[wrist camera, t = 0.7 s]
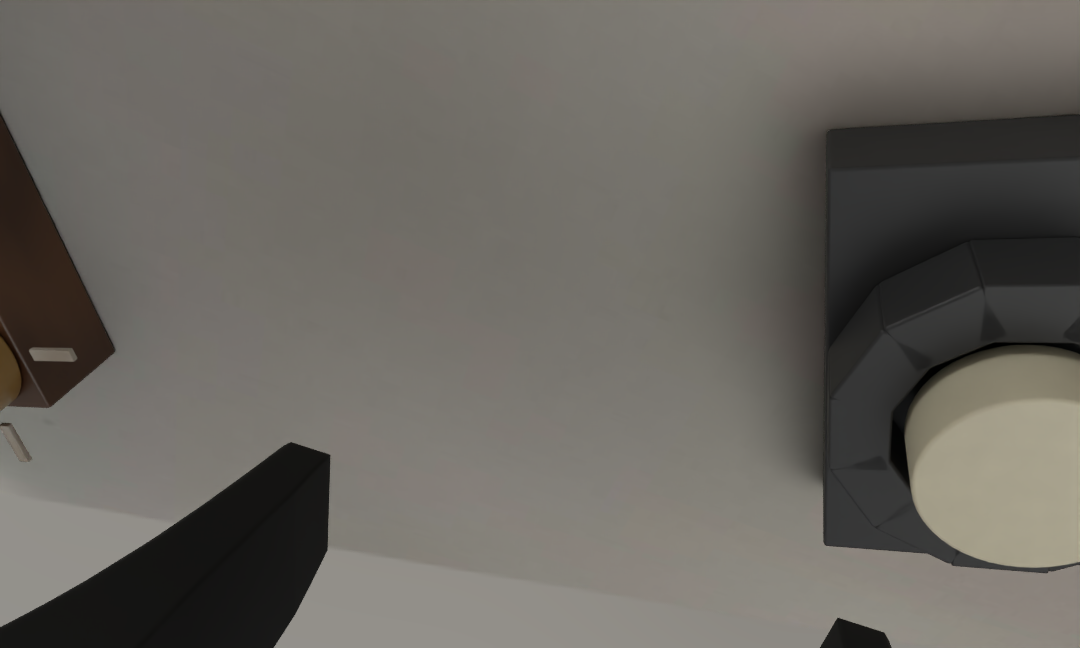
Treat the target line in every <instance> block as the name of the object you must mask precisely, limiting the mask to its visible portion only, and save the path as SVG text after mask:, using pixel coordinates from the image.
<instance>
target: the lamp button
mask: <svg viewBox="0 0 1080 648" xmlns="http://www.w3.org/2000/svg"><path fill="white" fill-rule="evenodd" d="M904 439H905V447H906V455H907V463H908V471H909V479H910V487H911V493H912V498H913V502H914V505H915V507H916V510H917V512H918V513H919V515H920V517H921V518H922V520H923V521H924V522H925V524H926V525H927V526H928V527H929V528H930V530H931V531H932V532H933V533H934V534H936V535H937V536H938V537H939V538H940V539H941V540H943V541H944V542H945V543H947V544H948V545H950V546H951V547H953V548H955V549H957V550H959V551H960V552H962V553H965V554H967V555H969V556H972V557H974V558H977V559H980V560H984V561H987V562H990V563H995V564H1000V565H1005V566H1014V567H1029V568H1039V567H1054V566H1061V565H1068V564H1072V563H1077V562H1080V354H1078V353H1076V352H1073V351H1069V350H1065V349H1062V348H1057V347H1051V346H1045V345H1031V344H1023V345H1008V346H1001V347H995V348H990V349H986V350H982V351H979V352H976V353H973V354H970V355H967V356H965V357H963V358H961V359H959V360H956V361H954V362H952V363H951V364H949V365H948V366H946V367H944V368H943V369H941V370H940V371H939V372H937V373H936V374H935V375H933V376H932V377H931V378H930V379H929V380H928V381H927V382H926V383H925V384H924V385H923V386H922V388H921V389H920V390H919V392H918V393H917V394H916V396H915V397H914V399H913V401H912V403H911V404H910V406H909V409H908V412H907V415H906V419H905V425H904Z"/></svg>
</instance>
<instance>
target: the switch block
mask: <svg viewBox="0 0 1080 648" xmlns="http://www.w3.org/2000/svg"><path fill="white" fill-rule="evenodd" d="M1023 344H1031V345H1045V346H1051V347H1057V348H1062V349H1065V350H1069V351H1073V352H1076V353H1078V354H1080V115H1068V116H1052V117H1035V118H1018V119H1002V120H985V121H968V122H952V123H935V124H919V125H902V126H885V127H869V128H852V129H836V130H829V131H827V134H826V232H825V343H824V454H823V542H824V544H825V545H826V546H836V547H849V548H862V549H875V550H888V551H901V552H914V553H928V554H930V555H932V556H934V557H936V558H938V559H940V560H942V561H944V562H947V563H951V564H952V565H953V566H961V567H974V568H986V569H999V570H1012V571H1024V572H1037V573H1048V571H1056V570H1060V569H1064V568H1067V567H1071V566H1075V565H1080V562H1077V563H1072V564H1068V565H1061V566H1054V567H1039V568H1029V567H1014V566H1005V565H1000V564H995V563H990V562H987V561H984V560H980V559H977V558H974V557H972V556H969V555H967V554H965V553H962V552H960V551H959V550H957V549H955V548H953V547H951V546H950V545H948V544H947V543H945V542H944V541H943V540H941V539H940V538H939V537H938V536H937V535H936V534H934V533H933V532H932V531H931V530H930V528H929V527H928V526H927V525H926V524H925V522H924V521H923V520H922V518H921V517H920V515H919V513H918V512H917V510H916V507H915V505H914V502H913V498H912V493H911V487H910V479H909V471H908V463H907V455H906V447H905V439H904V425H905V419H906V415H907V412H908V409H909V406H910V404H911V403H912V401H913V399H914V397H915V396H916V394H917V393H918V392H919V390H920V389H921V388H922V386H923V385H924V384H925V383H926V382H927V381H928V380H929V379H930V378H931V377H932V376H933V375H935V374H936V373H937V372H939V371H940V370H941V369H943V368H944V367H946V366H948V365H949V364H951V363H952V362H954V361H956V360H959V359H961V358H963V357H965V356H967V355H970V354H973V353H976V352H979V351H982V350H986V349H990V348H995V347H1001V346H1008V345H1023Z"/></svg>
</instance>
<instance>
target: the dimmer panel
mask: <svg viewBox="0 0 1080 648" xmlns="http://www.w3.org/2000/svg"><path fill="white" fill-rule="evenodd" d="M0 336H1V337H2V338H3V339H4V341H5V342H6V343H7V345H8V346H9V348H10V349H11V351H12V353H13V354H14V356H15V358H16V360H17V363H18V366H19V368H20V373H21V380H22V381H21V389H20V392H19V394H18V396H17V398H16V399H15V400H14V401H13V402H12V403H10V404H9V405H8V406H16V407H40V408H49V407H51V406H52V405H54V404H55V403H56V402H57V401H58V400H60V399H61V398H62V397H63V396H64V395H65V394H67V393H68V392H69V391H70V390H71V389H72V388H74V387H75V386H76V385H77V384H78V383H79V382H81V381H82V380H83V379H84V378H85V377H86V376H88V375H89V374H90V373H91V372H92V371H93V370H95V369H96V368H97V367H98V366H99V365H100V364H102V363H103V362H104V361H105V360H106V359H107V358H109V357H110V356H111V355H112V354H113V353H114V352H115V350H114V348H113V346H112V344H111V342H110V340H109V338H108V336H107V334H106V332H105V329H104V327H103V325H102V323H101V321H100V319H99V317H98V315H97V313H96V311H95V309H94V307H93V305H92V303H91V301H90V299H89V296H88V294H87V292H86V290H85V288H84V286H83V284H82V282H81V280H80V278H79V276H78V274H77V272H76V270H75V268H74V266H73V263H72V261H71V259H70V257H69V255H68V253H67V251H66V249H65V247H64V245H63V243H62V241H61V239H60V237H59V235H58V233H57V230H56V228H55V226H54V224H53V222H52V220H51V218H50V216H49V214H48V212H47V210H46V208H45V206H44V204H43V202H42V200H41V198H40V195H39V193H38V191H37V189H36V187H35V185H34V183H33V181H32V179H31V177H30V175H29V173H28V171H27V169H26V167H25V165H24V162H23V160H22V158H21V156H20V154H19V152H18V150H17V148H16V146H15V144H14V142H13V140H12V138H11V136H10V134H9V132H8V129H7V127H6V125H5V123H4V121H3V119H2V117H1V115H0ZM0 429H1V430H2V432H3V434H4V435H5V437H6V439H7V440H8V442H9V444H10V445H11V447H12V449H13V451H14V452H15V454H16V456H17V457H18V459H19V461H23V462H29V461H30V460H31V459H32V458H31V456H30V454H29V452H28V451H27V449H26V447H25V446H24V444H23V442H22V441H21V439H20V437H19V435H18V434H17V432H16V430H15V429H14V427H13V425H12V424H11V423H2V424H1V425H0Z"/></svg>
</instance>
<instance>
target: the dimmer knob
mask: <svg viewBox="0 0 1080 648" xmlns="http://www.w3.org/2000/svg"><path fill="white" fill-rule="evenodd" d="M21 381H22V380H21V373H20V368H19V366H18V363H17V360H16V358H15V356H14V354H13V353H12V351H11V349H10V348H9V346H8V345H7V343H6V342H5V341H4V339H3V338H2V337H1V336H0V411H2V410H3V409H4V408H5V407H7V406H8V405H9V404H10V403H12V402H13V401H14V400H15V399H16V398H17V396H18V394H19V392H20V389H21Z"/></svg>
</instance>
